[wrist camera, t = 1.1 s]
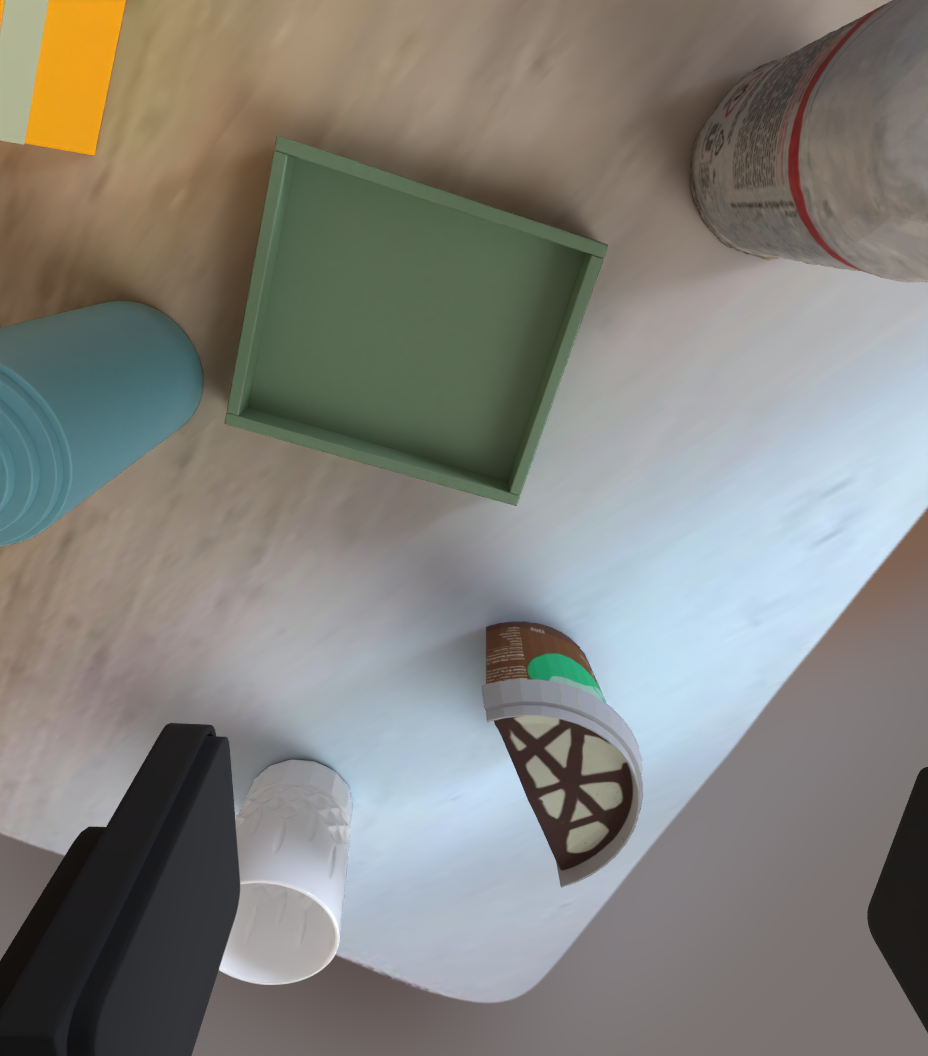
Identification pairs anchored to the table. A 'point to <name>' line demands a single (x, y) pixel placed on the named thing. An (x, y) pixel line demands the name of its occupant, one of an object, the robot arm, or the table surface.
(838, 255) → the spray can
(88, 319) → the bottle
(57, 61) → the orange juice
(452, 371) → the tray
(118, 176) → the table surface
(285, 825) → the white cup
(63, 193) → the table surface
